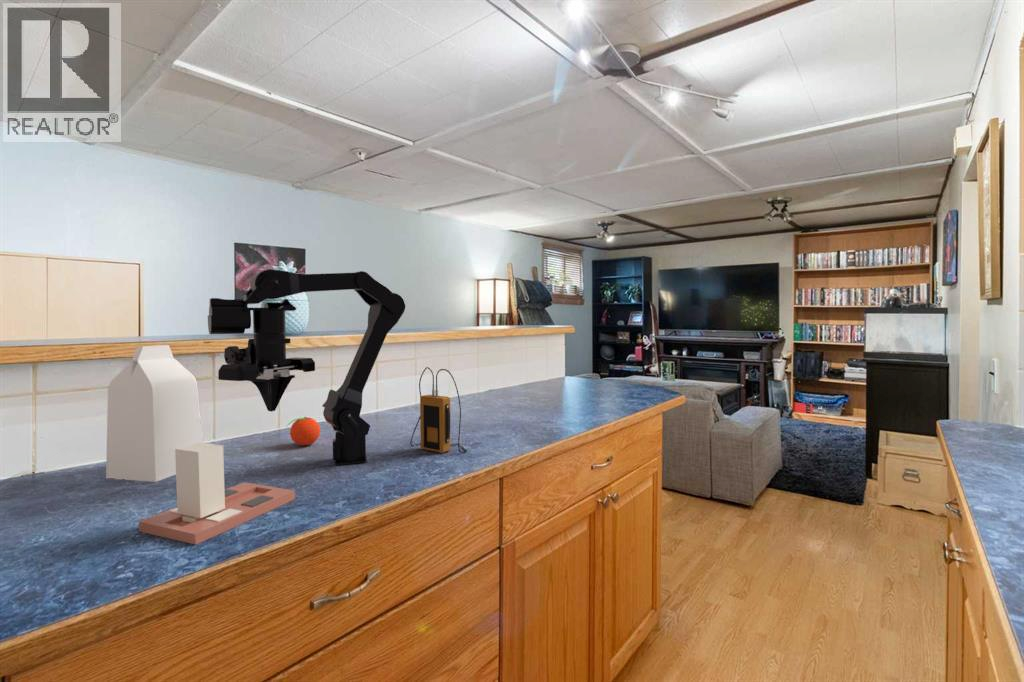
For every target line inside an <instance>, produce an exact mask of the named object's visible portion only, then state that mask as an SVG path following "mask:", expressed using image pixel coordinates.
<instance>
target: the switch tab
mask: <svg viewBox="0 0 1024 682" xmlns="http://www.w3.org/2000/svg"><path fill="white" fill-rule="evenodd" d="M175 458H176V474H175V476H176V477H175V480H176V481H175V482H176V507H177V514H182V515H184V516H182V521H185V522H190V523H193V522H195V521H198V520H200V519H202V518H205V517H207V516H210V515H212V514H215V513H217V512H219V511H221V510H222V509H225V467H224V466H225V463H224V462H225V461H224V445H222V444H215V443H209V442H207V443H206V442H203V443H201V442H200V443H197V444H193V445H189V446H185V447H181V448H177V449H175Z"/></svg>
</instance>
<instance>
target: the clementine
mask: <svg viewBox="0 0 1024 682" xmlns="http://www.w3.org/2000/svg"><path fill="white" fill-rule="evenodd" d="M293 422H294V423H293ZM291 423H292V425H291V427H290V431H289V436H290V438H291V440H292V441H293V442H294V443H295V444H296V445H299V446H302V445H303V447H305V446H304V445H307V446H309V445H313V444H314V443H315V442H317V440H318V439H319V437H320V434H321V427H320V423H318V421H316V420H315V419H314V418H312V417H306V416H304V417H299V418H295V419H293V420H292V421H290V422H289V423H288V424H287V425H286V427H288V426H289V425H290V424H291Z"/></svg>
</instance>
